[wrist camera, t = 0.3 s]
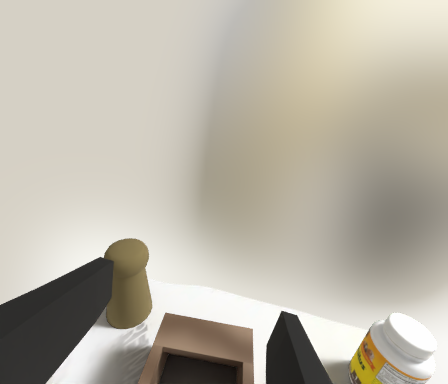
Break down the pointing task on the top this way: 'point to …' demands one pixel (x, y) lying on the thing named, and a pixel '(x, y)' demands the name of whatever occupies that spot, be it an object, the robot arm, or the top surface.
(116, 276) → the cork
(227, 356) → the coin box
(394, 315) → the supplement bottle
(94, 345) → the top surface
